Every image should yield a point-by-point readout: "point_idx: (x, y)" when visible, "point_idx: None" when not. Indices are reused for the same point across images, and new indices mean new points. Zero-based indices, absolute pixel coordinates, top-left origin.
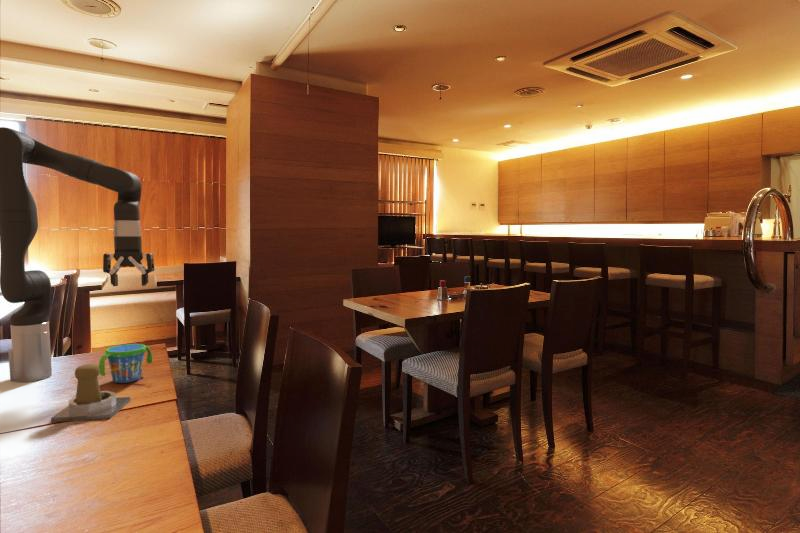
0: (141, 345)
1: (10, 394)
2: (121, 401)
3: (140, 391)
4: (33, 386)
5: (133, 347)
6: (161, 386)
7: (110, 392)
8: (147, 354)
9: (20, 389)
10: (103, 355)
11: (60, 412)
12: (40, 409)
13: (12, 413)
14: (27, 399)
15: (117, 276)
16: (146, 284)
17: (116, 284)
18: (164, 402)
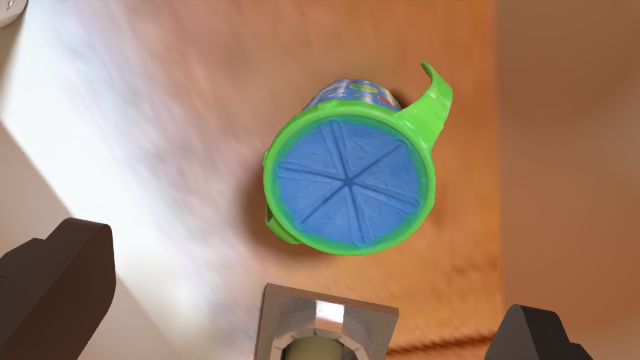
0: (413, 154)
1: (33, 151)
2: (381, 335)
3: (415, 250)
4: (49, 88)
5: (375, 156)
6: (477, 228)
7: (353, 346)
8: (430, 77)
9: (28, 109)
10: (271, 226)
11: (261, 351)
12: (194, 291)
13: (143, 293)
14: (115, 211)
15: (14, 346)
16: (551, 318)
17: (102, 275)
18: (484, 344)
